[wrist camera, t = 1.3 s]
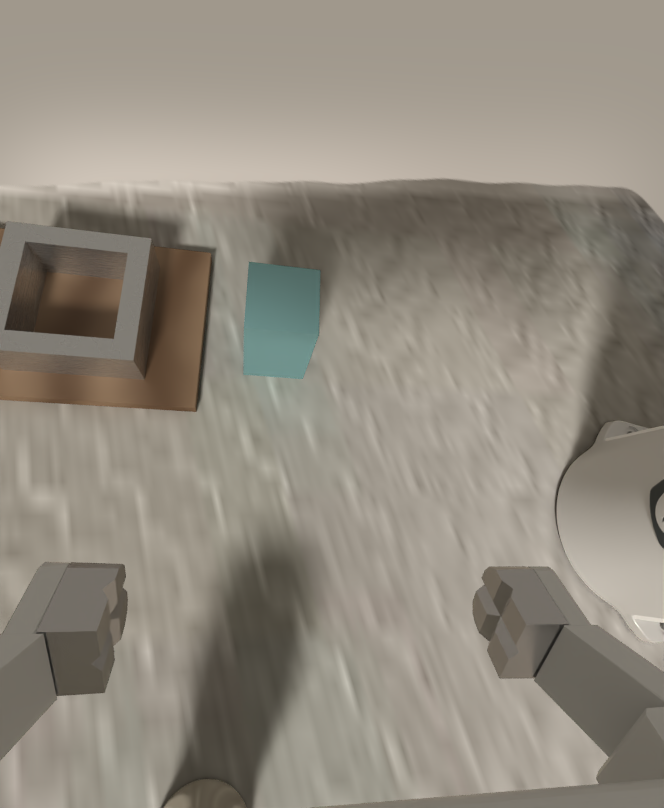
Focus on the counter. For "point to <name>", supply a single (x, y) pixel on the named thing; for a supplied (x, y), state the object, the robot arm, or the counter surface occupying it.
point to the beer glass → (206, 795)
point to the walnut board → (96, 317)
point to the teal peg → (280, 320)
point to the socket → (87, 256)
